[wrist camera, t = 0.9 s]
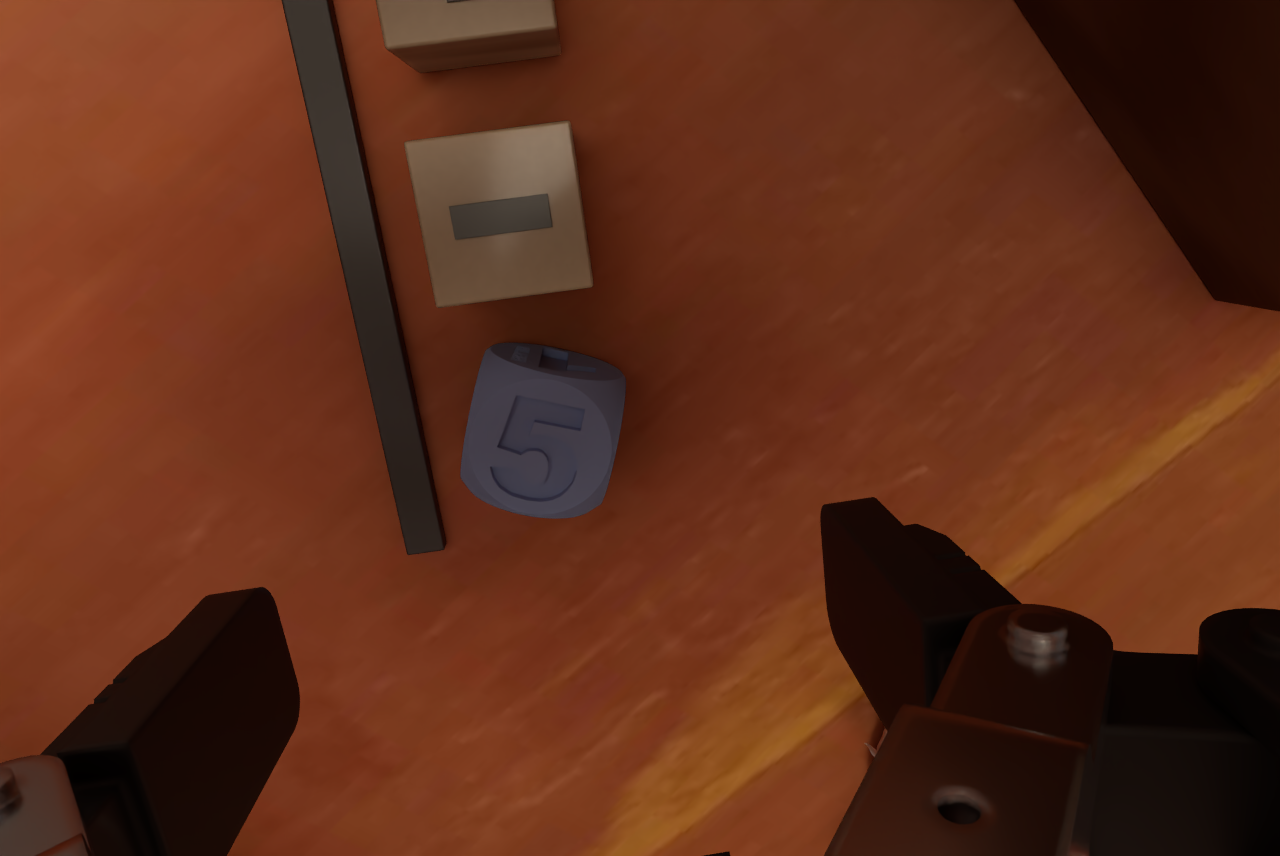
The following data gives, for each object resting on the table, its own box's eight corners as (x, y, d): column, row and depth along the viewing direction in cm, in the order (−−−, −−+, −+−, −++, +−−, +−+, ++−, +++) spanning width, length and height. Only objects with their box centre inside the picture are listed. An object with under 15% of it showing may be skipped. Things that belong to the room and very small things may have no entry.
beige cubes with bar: (269, -76, 21) (199, -135, 18) (538, -108, 22) (529, -174, 18) (410, 549, 27) (380, 611, 23) (627, 518, 27) (634, 575, 23)
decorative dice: (623, 361, 25) (630, 391, 21) (596, 480, 26) (598, 530, 22) (494, 334, 25) (477, 360, 21) (472, 457, 26) (453, 503, 22)
